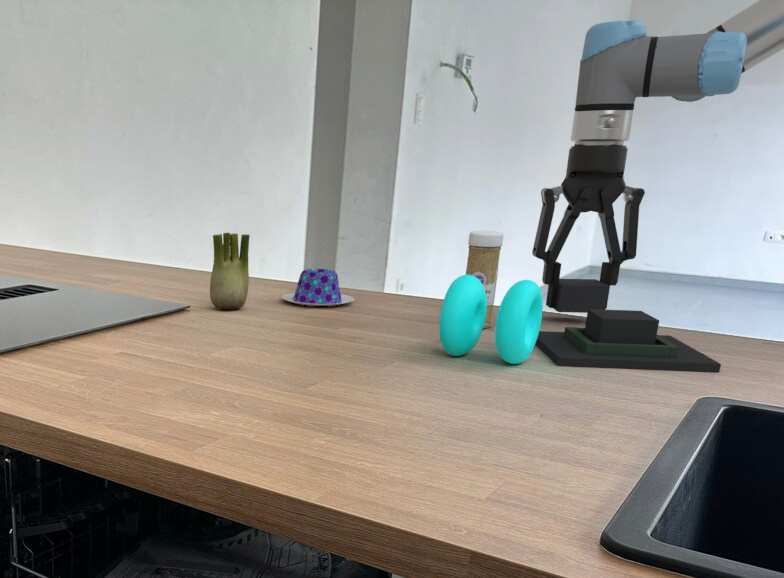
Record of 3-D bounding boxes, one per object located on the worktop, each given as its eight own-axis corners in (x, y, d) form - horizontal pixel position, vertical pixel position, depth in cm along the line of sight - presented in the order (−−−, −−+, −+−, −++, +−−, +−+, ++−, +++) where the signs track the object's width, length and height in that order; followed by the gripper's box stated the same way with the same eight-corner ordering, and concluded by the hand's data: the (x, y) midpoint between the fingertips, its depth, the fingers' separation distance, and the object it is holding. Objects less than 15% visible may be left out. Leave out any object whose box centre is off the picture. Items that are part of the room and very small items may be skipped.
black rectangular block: (635, 341, 111) (641, 310, 110) (653, 352, 105) (659, 320, 104) (582, 339, 112) (587, 309, 111) (597, 350, 106) (602, 318, 105)
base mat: (668, 342, 115) (672, 326, 115) (719, 372, 100) (723, 353, 100) (528, 337, 118) (531, 321, 117) (557, 365, 103) (560, 347, 102)
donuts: (459, 346, 113) (468, 269, 109) (538, 357, 107) (550, 276, 104) (431, 361, 105) (440, 278, 102) (515, 373, 99) (527, 286, 96)
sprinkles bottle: (459, 328, 124) (470, 232, 119) (458, 322, 128) (469, 229, 123) (492, 330, 123) (505, 233, 118) (491, 324, 127) (502, 230, 122)
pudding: (365, 307, 139) (367, 275, 137) (294, 310, 137) (295, 276, 135) (339, 295, 150) (340, 265, 148) (272, 297, 148) (274, 266, 146)
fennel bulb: (248, 307, 139) (251, 231, 135) (244, 313, 134) (246, 234, 130) (213, 305, 140) (215, 230, 136) (207, 311, 136) (208, 233, 132)
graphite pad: (592, 305, 131) (596, 279, 130) (604, 313, 125) (609, 285, 124) (547, 304, 132) (551, 278, 131) (558, 312, 126) (561, 284, 125)
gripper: (532, 144, 119) (513, 310, 127) (683, 143, 116) (653, 312, 124) (521, 144, 126) (503, 301, 134) (663, 143, 123) (636, 303, 131)
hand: (575, 306), depth 129 cm, fingers closed on graphite pad, 6 cm apart
